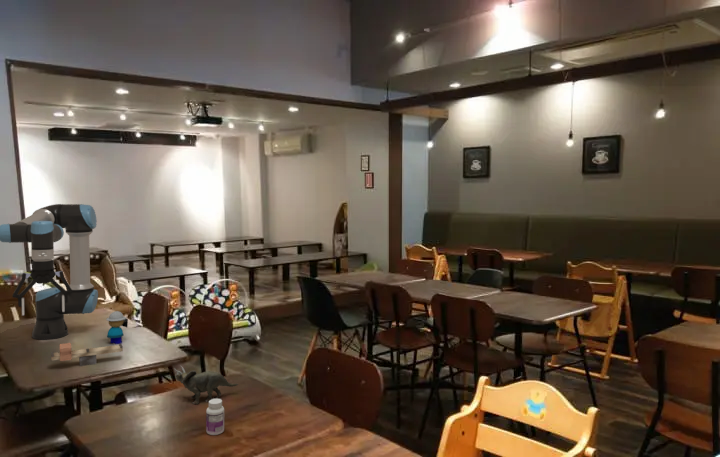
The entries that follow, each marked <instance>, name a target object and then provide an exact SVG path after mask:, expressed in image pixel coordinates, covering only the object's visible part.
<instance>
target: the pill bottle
mask: <svg viewBox="0 0 720 457" xmlns="http://www.w3.org/2000/svg"><path fill="white" fill-rule="evenodd" d="M205 413H206V414H205V423H206V424H205V426H206V427H205V429H206V434H208V435H211V436H217V435H221V434H222V433H223V432H224V431H225V407H224V406H223V400H222V398H211V400H210V401H209V402H208V407H207V408H206V412H205Z"/></svg>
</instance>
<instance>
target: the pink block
mask: <svg viewBox="0 0 720 457" xmlns="http://www.w3.org/2000/svg"><path fill="white" fill-rule="evenodd" d="M72 351H73V350H72V344H71V342H66V343H60V344H59V352H60V359H59V361H60V362H65V361H71V360H72V359H73V358H72Z"/></svg>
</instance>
